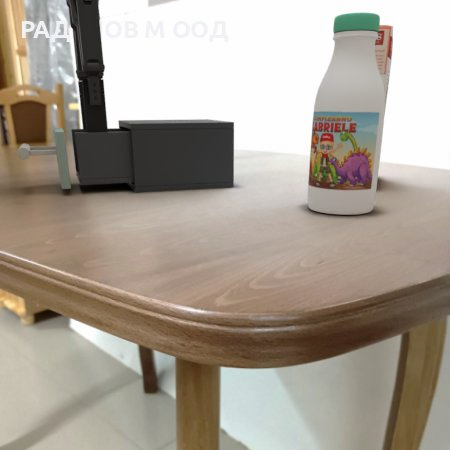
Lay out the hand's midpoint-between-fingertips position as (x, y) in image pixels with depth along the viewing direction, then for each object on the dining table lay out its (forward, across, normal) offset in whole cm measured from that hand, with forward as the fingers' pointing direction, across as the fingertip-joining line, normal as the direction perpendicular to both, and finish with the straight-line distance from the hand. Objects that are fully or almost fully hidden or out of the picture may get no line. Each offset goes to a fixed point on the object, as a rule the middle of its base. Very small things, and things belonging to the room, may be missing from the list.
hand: (94, 130), depth 69 cm
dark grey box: (+8, 0, -12) cm, 14 cm away
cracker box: (+8, -9, -38) cm, 40 cm away
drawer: (+7, 0, +1) cm, 7 cm away
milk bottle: (+8, -26, -25) cm, 37 cm away
